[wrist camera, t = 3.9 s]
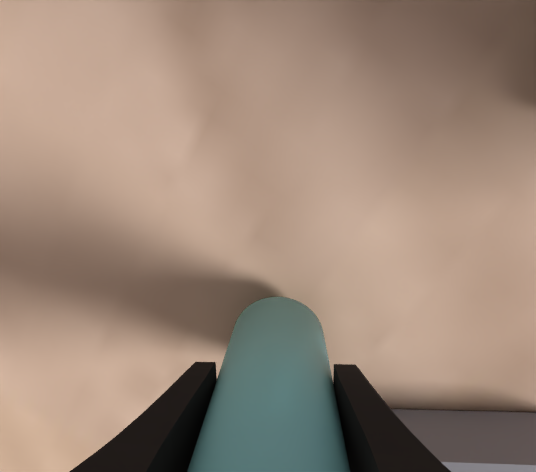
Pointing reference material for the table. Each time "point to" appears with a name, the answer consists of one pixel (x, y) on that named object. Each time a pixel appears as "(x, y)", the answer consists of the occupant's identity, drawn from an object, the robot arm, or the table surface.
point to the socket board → (476, 438)
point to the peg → (273, 397)
